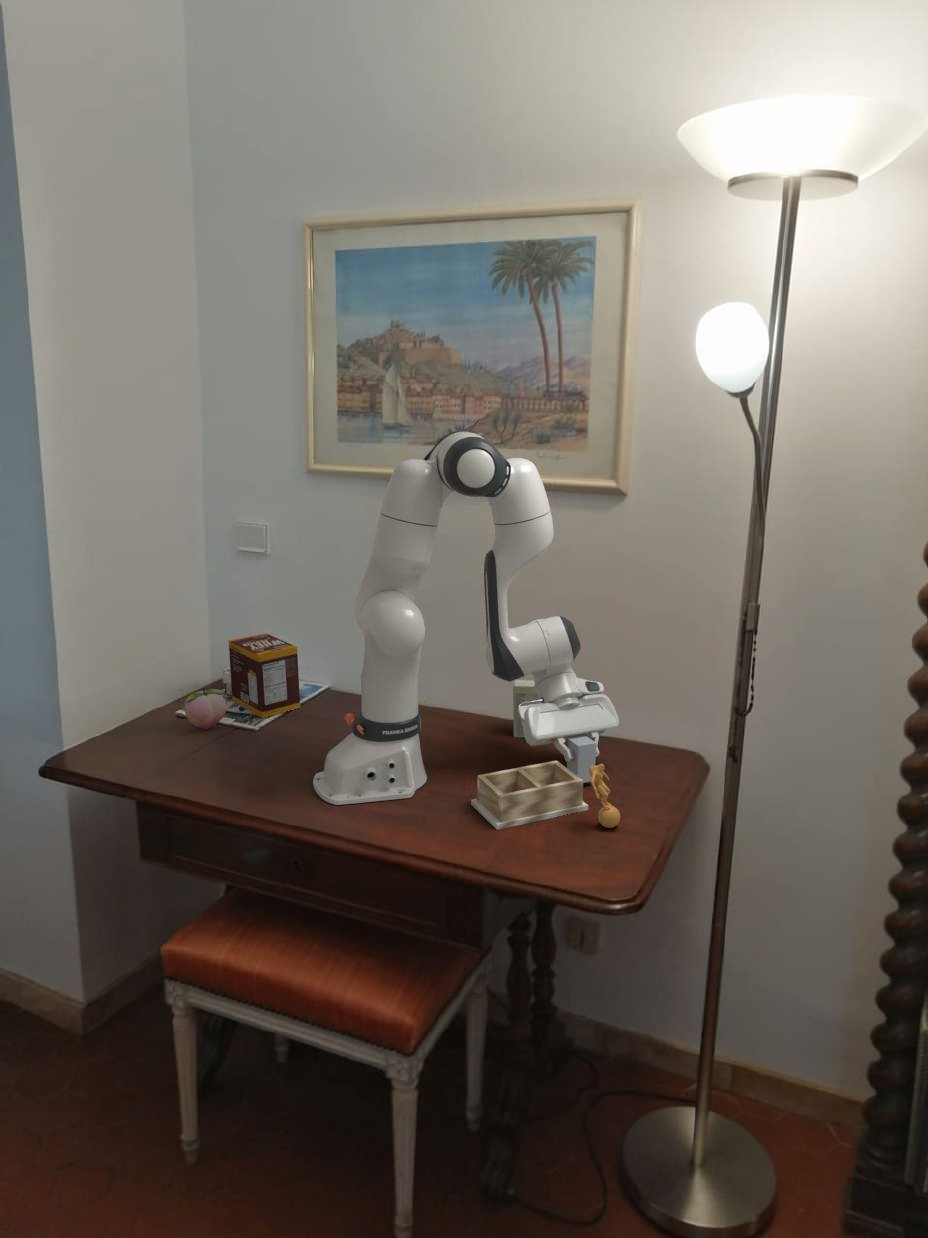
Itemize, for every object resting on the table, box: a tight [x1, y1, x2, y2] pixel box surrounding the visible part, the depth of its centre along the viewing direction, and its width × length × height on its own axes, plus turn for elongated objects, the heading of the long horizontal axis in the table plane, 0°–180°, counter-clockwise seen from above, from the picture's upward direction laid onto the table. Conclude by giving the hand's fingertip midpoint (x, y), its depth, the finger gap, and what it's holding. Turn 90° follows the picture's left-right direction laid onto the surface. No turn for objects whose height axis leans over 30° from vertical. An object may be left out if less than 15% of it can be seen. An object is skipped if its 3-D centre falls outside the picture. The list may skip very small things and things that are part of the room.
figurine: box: [589, 763, 621, 829], centre depth 175 cm, size 8×6×12 cm
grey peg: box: [566, 736, 597, 784], centre depth 192 cm, size 4×4×8 cm
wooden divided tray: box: [470, 760, 589, 831], centre depth 182 cm, size 19×11×6 cm, turn 114°
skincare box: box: [512, 679, 538, 738], centre depth 216 cm, size 6×4×12 cm
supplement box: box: [228, 632, 301, 719], centre depth 233 cm, size 10×15×16 cm
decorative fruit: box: [184, 687, 228, 730], centre depth 218 cm, size 9×8×10 cm
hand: (583, 758), depth 191 cm, fingers closed on grey peg, 4 cm apart
